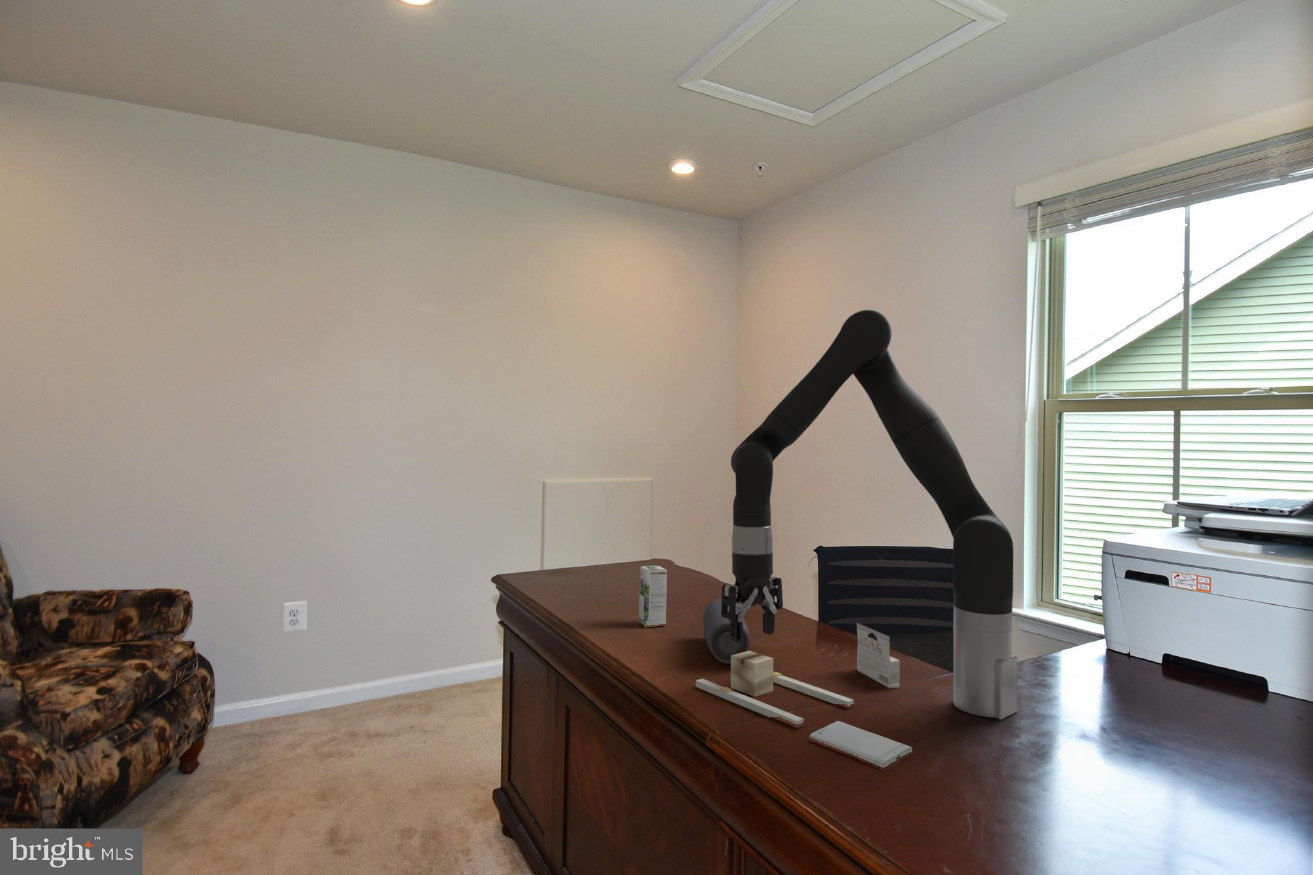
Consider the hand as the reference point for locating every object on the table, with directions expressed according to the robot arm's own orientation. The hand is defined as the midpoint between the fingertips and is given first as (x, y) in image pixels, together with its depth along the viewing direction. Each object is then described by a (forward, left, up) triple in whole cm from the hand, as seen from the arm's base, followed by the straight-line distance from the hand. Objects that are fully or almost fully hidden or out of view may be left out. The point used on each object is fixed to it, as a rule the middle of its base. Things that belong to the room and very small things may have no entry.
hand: (753, 637), depth 126 cm
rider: (0, 0, -10) cm, 10 cm away
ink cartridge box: (-10, -24, -10) cm, 28 cm away
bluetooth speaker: (+20, -12, -10) cm, 25 cm away
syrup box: (+48, -14, -10) cm, 51 cm away
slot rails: (-4, 0, -10) cm, 11 cm away
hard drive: (-26, +5, -10) cm, 29 cm away
